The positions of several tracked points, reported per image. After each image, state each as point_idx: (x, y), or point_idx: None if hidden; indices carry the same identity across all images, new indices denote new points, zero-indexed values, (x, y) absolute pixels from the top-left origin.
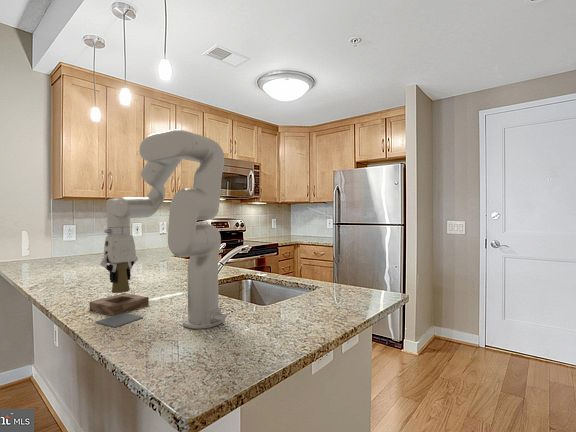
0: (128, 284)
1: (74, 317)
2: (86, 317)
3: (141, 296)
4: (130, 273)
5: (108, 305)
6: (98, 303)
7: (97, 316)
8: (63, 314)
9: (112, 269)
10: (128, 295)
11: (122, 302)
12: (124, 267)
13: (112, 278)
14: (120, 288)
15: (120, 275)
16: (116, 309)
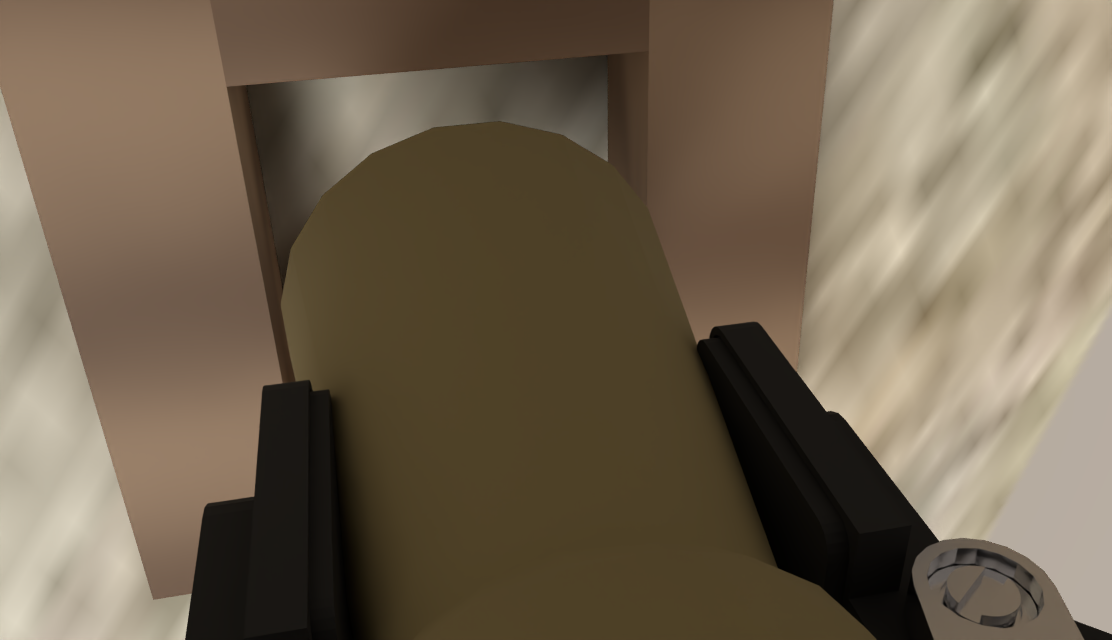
0: (359, 265)
1: (1009, 277)
2: (966, 144)
3: (37, 101)
4: (196, 570)
5: (807, 48)
6: (787, 316)
7: (886, 51)
8: (961, 492)
9: (1061, 625)
10: (195, 398)
11: (557, 9)
12: (638, 600)
13: (856, 439)
14: (608, 198)
15: (677, 428)
16: None
